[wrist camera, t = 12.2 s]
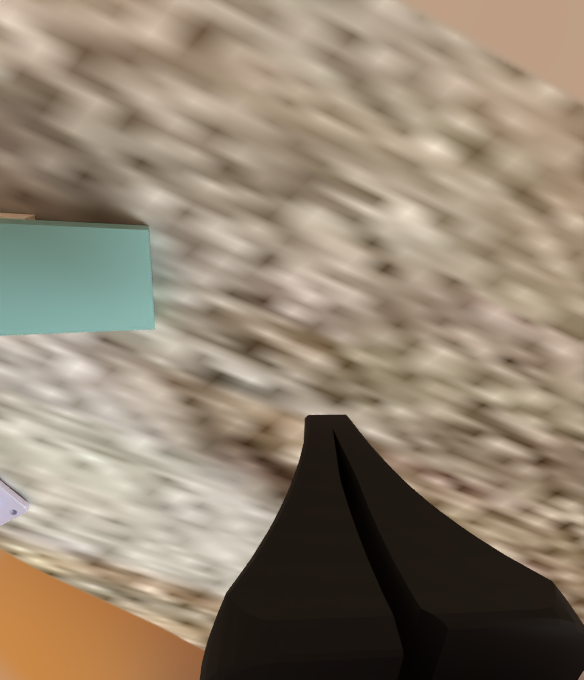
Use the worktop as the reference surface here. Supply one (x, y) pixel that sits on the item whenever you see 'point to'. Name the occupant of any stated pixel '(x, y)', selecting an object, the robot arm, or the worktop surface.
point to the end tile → (74, 277)
